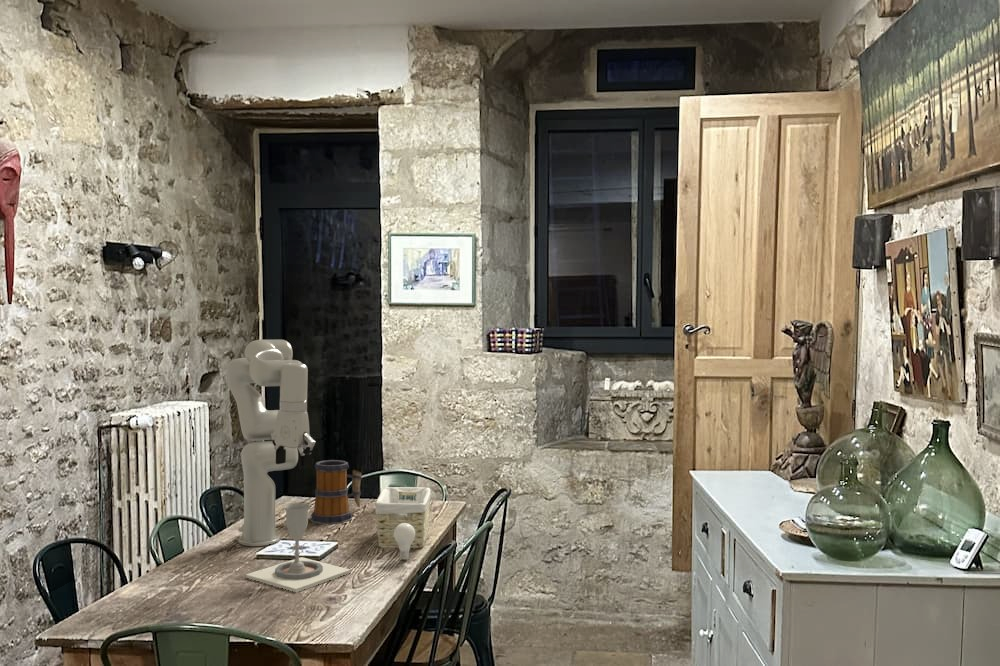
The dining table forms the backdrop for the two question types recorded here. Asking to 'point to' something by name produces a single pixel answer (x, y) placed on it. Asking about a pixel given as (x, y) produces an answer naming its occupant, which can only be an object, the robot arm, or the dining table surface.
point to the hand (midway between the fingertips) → (292, 466)
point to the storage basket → (402, 514)
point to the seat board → (298, 575)
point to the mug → (334, 492)
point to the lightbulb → (404, 539)
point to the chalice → (296, 531)
